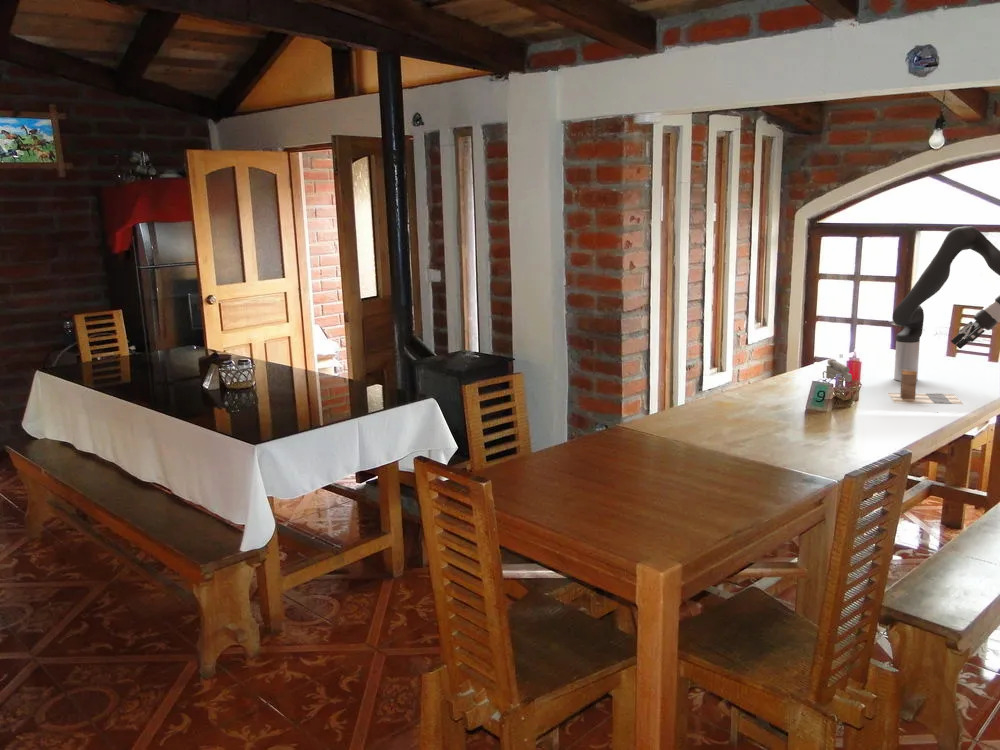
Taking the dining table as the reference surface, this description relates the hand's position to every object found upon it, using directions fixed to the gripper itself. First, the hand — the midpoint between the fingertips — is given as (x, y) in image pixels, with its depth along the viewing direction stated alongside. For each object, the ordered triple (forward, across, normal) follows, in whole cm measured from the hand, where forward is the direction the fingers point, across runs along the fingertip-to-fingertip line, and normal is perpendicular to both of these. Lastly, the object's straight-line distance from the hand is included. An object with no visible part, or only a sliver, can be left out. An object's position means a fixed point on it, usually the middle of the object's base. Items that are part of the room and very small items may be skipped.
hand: (955, 344), depth 317 cm
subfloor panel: (+23, 0, +9) cm, 25 cm away
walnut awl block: (+26, 0, +4) cm, 26 cm away
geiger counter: (+46, -11, -13) cm, 49 cm away
